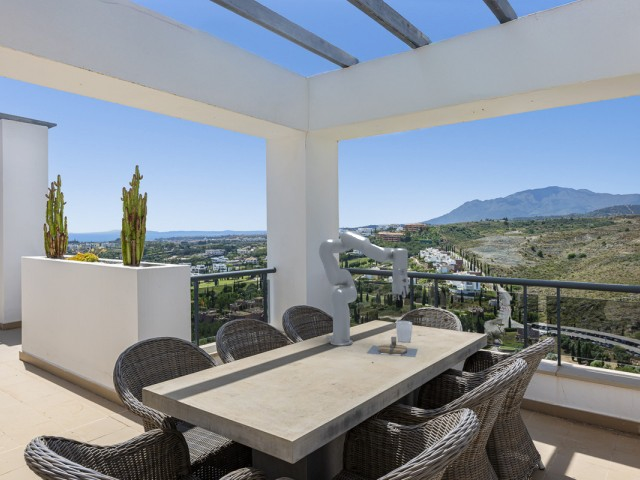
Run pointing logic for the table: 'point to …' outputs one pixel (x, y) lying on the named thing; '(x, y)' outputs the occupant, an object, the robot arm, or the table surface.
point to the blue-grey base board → (410, 353)
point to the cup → (404, 331)
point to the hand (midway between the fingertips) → (399, 307)
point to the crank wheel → (392, 348)
